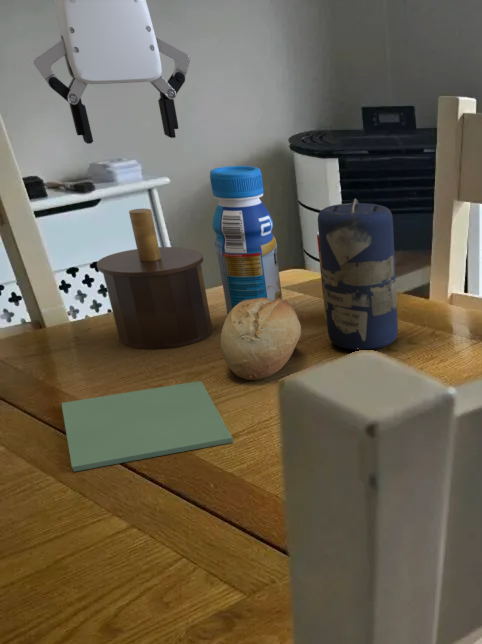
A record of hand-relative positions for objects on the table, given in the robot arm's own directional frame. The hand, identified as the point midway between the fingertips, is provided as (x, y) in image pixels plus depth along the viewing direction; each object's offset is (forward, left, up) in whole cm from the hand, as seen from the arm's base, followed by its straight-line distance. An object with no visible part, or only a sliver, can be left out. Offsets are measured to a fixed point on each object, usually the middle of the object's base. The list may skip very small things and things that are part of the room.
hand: (130, 139), depth 100 cm
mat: (-7, -28, -25) cm, 38 cm away
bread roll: (+10, -15, -25) cm, 30 cm away
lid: (0, +3, -15) cm, 15 cm away
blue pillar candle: (+24, -13, -25) cm, 37 cm away
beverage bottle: (+13, +3, -25) cm, 28 cm away
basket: (0, +3, -25) cm, 25 cm away
